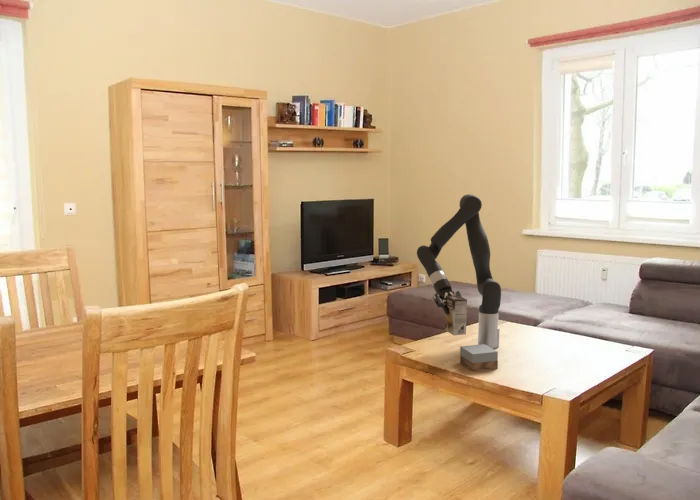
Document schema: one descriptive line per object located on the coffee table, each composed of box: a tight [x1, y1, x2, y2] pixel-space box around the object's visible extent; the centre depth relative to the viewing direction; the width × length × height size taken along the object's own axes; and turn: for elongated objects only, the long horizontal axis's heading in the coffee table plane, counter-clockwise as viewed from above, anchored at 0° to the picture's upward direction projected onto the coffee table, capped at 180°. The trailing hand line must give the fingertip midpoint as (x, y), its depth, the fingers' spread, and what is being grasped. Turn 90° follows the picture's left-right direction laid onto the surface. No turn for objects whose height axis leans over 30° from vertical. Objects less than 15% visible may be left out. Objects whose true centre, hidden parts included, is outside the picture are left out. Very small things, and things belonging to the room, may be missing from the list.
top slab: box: [459, 344, 499, 363], centre depth 273 cm, size 12×12×4 cm
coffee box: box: [444, 295, 468, 336], centre depth 277 cm, size 9×6×16 cm
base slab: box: [459, 354, 499, 372], centre depth 274 cm, size 12×12×4 cm
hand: (455, 312), depth 278 cm, fingers closed on coffee box, 7 cm apart
